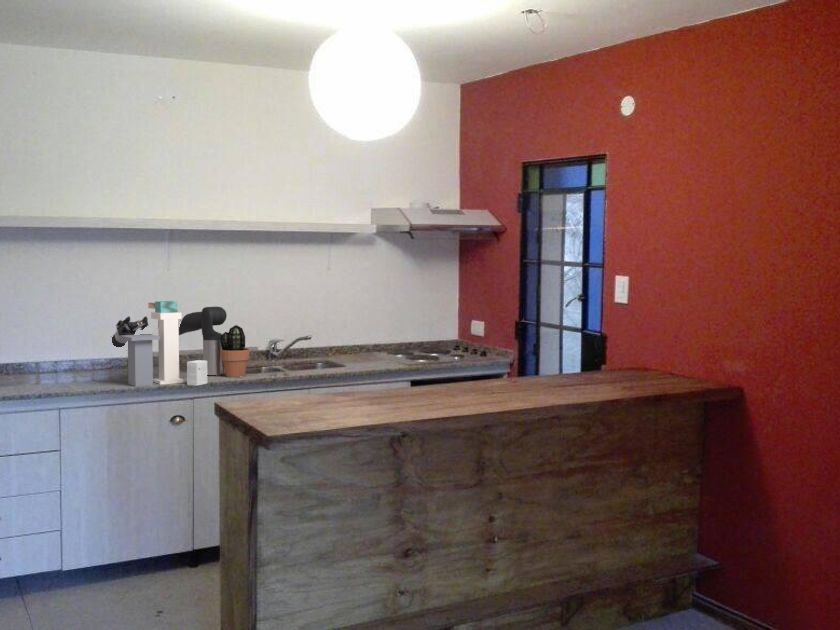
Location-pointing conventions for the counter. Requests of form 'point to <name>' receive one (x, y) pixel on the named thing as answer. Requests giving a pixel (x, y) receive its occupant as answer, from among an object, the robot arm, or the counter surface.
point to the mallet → (164, 306)
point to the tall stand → (168, 347)
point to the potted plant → (234, 352)
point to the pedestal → (140, 359)
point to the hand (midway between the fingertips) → (137, 318)
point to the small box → (197, 372)
